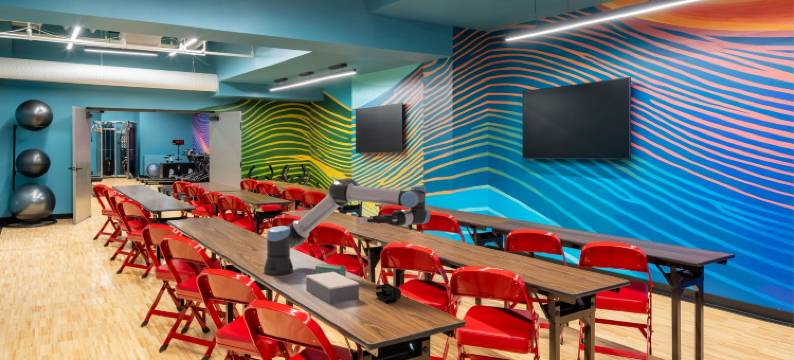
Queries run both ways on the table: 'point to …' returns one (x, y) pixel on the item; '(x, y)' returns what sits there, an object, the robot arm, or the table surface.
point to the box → (330, 269)
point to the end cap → (388, 293)
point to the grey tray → (332, 292)
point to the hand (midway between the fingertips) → (360, 220)
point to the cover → (332, 280)
